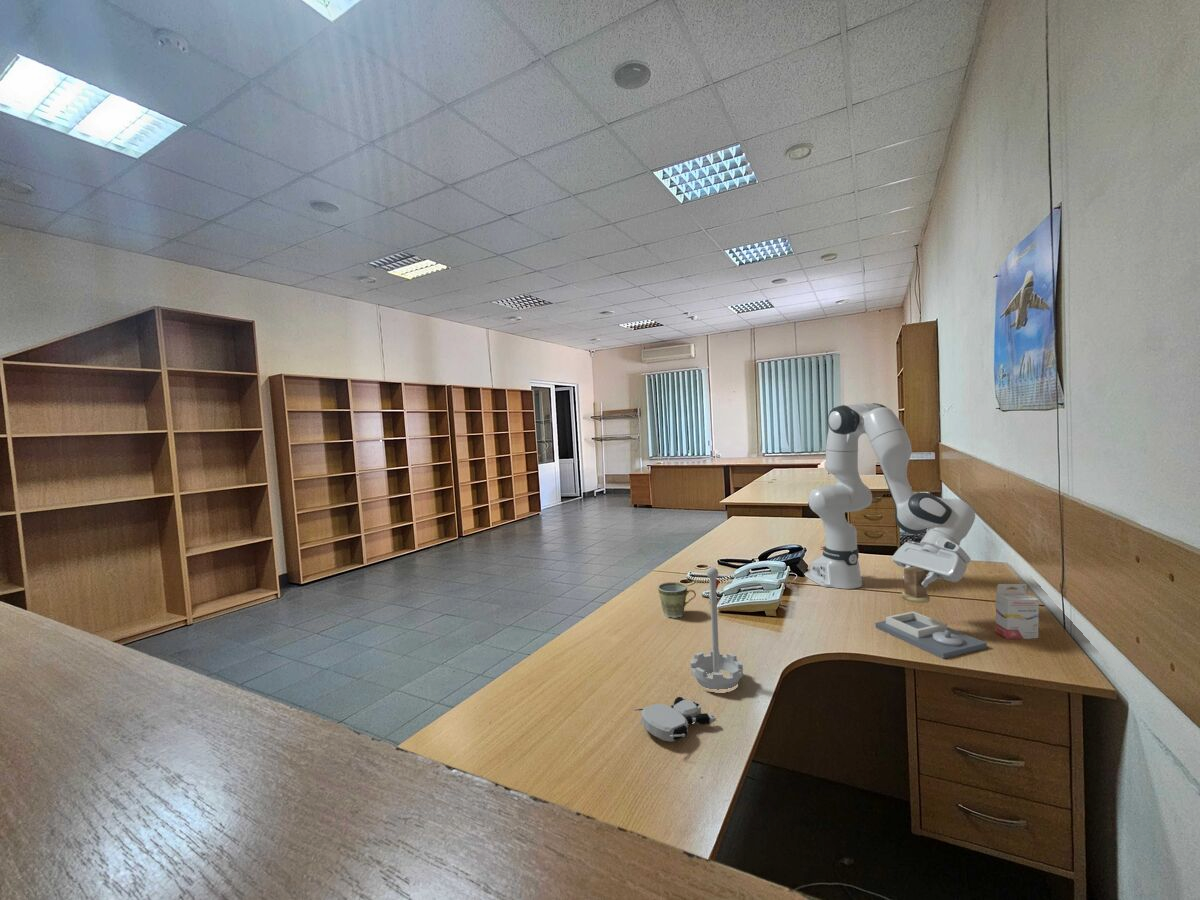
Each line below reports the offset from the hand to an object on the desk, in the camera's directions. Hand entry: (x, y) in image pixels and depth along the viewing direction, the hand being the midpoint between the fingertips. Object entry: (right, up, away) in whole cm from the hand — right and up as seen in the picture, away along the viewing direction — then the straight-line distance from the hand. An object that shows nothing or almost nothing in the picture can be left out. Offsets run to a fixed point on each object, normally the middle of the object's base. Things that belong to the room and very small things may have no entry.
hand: (913, 583), depth 148 cm
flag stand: (-64, -20, -21) cm, 70 cm away
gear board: (+3, -15, -3) cm, 16 cm away
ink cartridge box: (+27, -14, -5) cm, 31 cm away
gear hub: (+1, -5, 0) cm, 5 cm away
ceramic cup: (-67, -18, +23) cm, 73 cm away
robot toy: (-77, -22, -38) cm, 89 cm away
